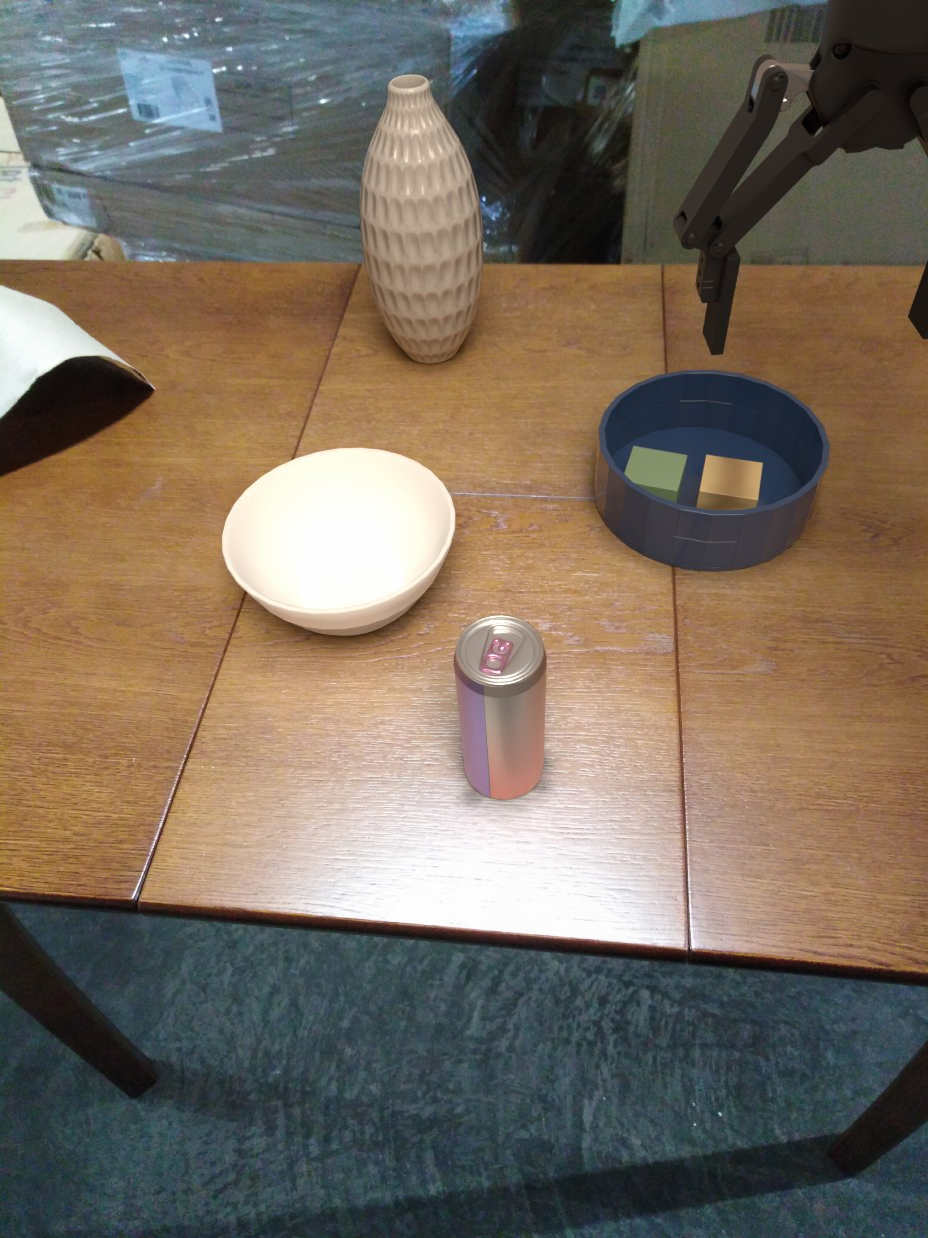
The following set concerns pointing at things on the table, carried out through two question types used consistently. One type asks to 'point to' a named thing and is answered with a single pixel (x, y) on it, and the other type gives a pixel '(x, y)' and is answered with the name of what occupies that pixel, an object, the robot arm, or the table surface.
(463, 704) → the beverage can
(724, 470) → the beech block
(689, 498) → the navy round tub
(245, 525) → the bowl
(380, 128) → the vase
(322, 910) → the table surface
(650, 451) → the sage block
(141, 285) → the table surface
